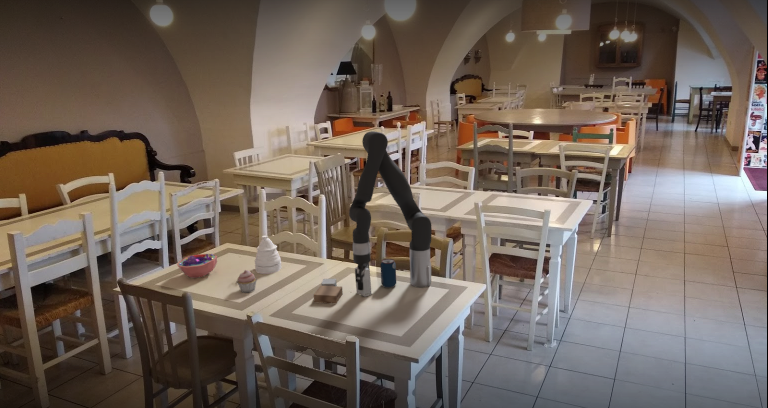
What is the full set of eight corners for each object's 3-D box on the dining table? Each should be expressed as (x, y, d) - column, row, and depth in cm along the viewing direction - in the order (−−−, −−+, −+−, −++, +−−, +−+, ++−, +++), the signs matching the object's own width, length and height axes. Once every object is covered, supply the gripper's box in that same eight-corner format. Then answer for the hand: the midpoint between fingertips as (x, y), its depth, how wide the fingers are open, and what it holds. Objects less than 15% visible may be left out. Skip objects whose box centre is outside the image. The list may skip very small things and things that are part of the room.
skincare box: (372, 294, 246) (370, 268, 243) (363, 297, 243) (362, 271, 240) (363, 290, 251) (362, 265, 248) (355, 293, 248) (354, 267, 245)
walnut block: (342, 295, 247) (342, 286, 246) (336, 304, 238) (336, 295, 237) (321, 293, 249) (320, 285, 248) (314, 303, 240) (313, 294, 239)
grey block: (336, 286, 257) (336, 278, 256) (335, 291, 251) (334, 283, 250) (323, 286, 257) (323, 278, 256) (321, 292, 251) (321, 283, 250)
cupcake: (233, 291, 255) (231, 270, 253) (250, 284, 262) (248, 264, 260) (244, 296, 249) (242, 275, 247) (262, 289, 256) (260, 269, 253)
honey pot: (278, 273, 275) (275, 238, 271) (252, 274, 275) (249, 239, 271) (283, 264, 288) (280, 230, 283) (258, 265, 288) (255, 231, 283)
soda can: (399, 284, 255) (398, 260, 252) (389, 289, 251) (388, 264, 248) (388, 281, 260) (387, 257, 257) (378, 285, 255) (377, 261, 252)
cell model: (226, 271, 280) (224, 250, 277) (194, 285, 264) (191, 262, 261) (204, 266, 289) (201, 245, 286) (171, 279, 273) (168, 257, 270)
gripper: (365, 257, 235) (367, 293, 239) (373, 246, 248) (375, 280, 252) (348, 256, 236) (350, 292, 240) (357, 245, 250) (359, 279, 254)
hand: (363, 286), depth 246 cm, fingers open, 8 cm apart
